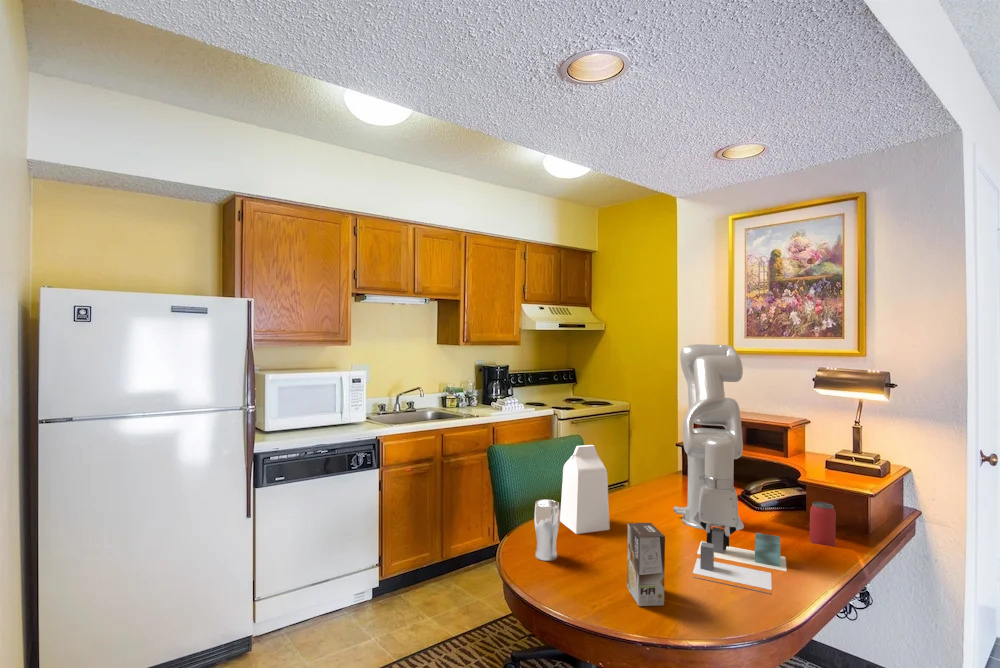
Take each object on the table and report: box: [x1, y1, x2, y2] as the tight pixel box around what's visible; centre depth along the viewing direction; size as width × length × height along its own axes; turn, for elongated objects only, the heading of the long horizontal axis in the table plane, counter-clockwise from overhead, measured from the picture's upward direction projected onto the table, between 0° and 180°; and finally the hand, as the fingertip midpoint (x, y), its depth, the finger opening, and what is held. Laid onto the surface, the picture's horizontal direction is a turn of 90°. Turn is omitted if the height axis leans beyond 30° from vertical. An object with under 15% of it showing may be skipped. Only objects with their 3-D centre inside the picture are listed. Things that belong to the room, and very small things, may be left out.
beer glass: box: [533, 498, 560, 562], centre depth 145 cm, size 7×7×15 cm
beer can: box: [809, 501, 837, 548], centre depth 156 cm, size 7×7×12 cm
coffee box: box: [626, 522, 666, 607], centre depth 123 cm, size 9×6×16 cm
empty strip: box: [692, 541, 773, 595], centre depth 133 cm, size 18×10×7 cm, turn 63°
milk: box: [559, 444, 611, 535], centre depth 169 cm, size 12×12×26 cm
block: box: [754, 532, 781, 567], centre depth 141 cm, size 6×6×6 cm
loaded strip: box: [696, 526, 787, 572], centre depth 144 cm, size 22×10×7 cm, turn 63°
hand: (717, 546), depth 147 cm, fingers closed on loaded strip, 3 cm apart
